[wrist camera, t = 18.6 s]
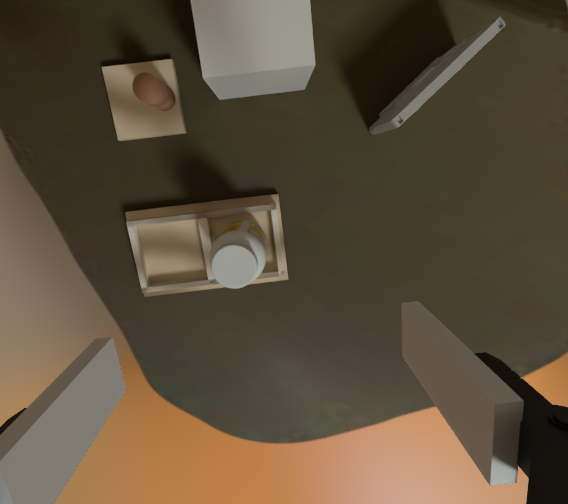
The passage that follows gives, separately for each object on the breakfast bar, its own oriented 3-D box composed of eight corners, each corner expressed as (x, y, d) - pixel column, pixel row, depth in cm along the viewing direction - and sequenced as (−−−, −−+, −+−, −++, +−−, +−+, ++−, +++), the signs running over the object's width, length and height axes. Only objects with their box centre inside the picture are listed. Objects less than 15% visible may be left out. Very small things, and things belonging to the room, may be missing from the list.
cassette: (375, 139, 37) (400, 132, 30) (364, 126, 37) (387, 116, 30) (461, 56, 36) (511, 27, 28) (451, 41, 35) (499, 8, 28)
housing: (204, 1, 33) (181, -57, 25) (295, -9, 34) (303, -71, 25) (219, 99, 36) (202, 78, 27) (304, 89, 36) (315, 64, 27)
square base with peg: (105, 69, 35) (73, 50, 29) (173, 61, 35) (155, 41, 29) (121, 140, 36) (93, 136, 31) (186, 133, 36) (171, 127, 31)
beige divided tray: (127, 211, 38) (120, 213, 36) (278, 193, 38) (278, 195, 36) (146, 294, 41) (140, 300, 39) (287, 277, 41) (288, 282, 39)
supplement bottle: (271, 224, 38) (271, 243, 29) (262, 269, 40) (259, 301, 30) (223, 215, 38) (208, 231, 29) (216, 260, 39) (199, 290, 30)
